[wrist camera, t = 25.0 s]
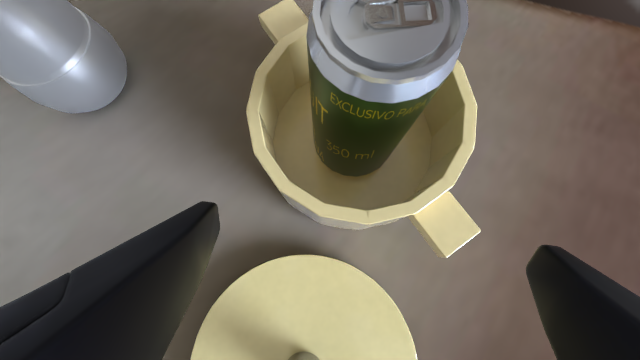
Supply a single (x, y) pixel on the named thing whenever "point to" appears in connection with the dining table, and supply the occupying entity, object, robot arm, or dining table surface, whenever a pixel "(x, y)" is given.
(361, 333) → the pot lid
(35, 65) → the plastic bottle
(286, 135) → the pot
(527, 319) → the dining table surface
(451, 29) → the beer can
